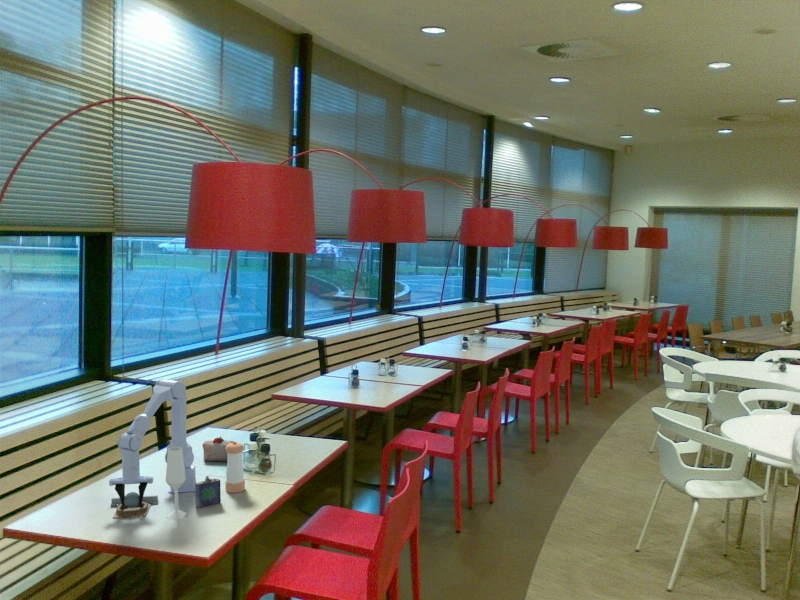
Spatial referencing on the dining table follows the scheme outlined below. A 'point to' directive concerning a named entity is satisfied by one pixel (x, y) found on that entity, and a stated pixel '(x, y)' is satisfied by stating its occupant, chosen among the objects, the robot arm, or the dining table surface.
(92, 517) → the dining table surface
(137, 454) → the robot arm
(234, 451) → the pepper shaker
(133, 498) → the ball
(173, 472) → the champagne flute
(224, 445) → the food item
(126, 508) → the ring cradle
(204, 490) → the flask
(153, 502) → the grey bar
